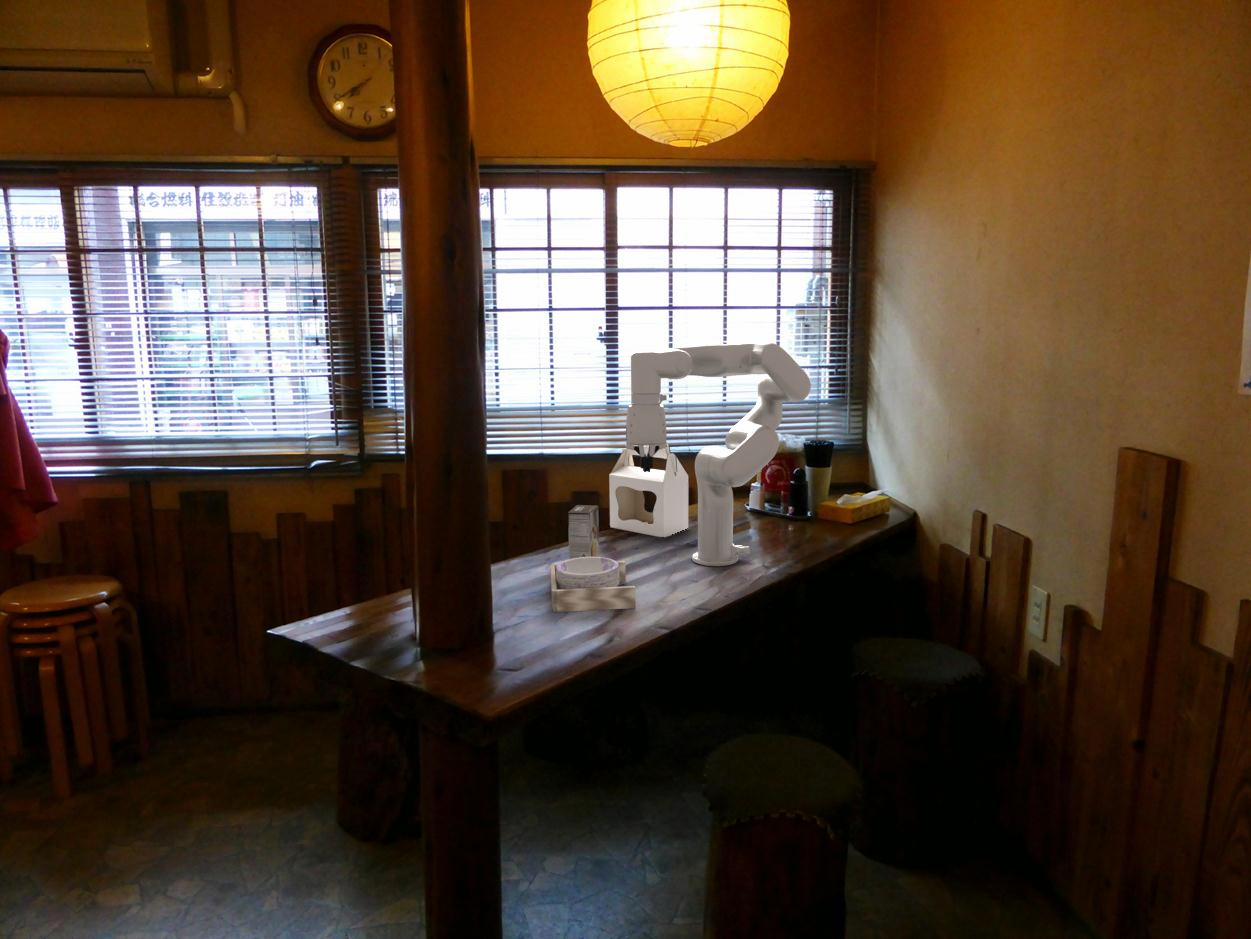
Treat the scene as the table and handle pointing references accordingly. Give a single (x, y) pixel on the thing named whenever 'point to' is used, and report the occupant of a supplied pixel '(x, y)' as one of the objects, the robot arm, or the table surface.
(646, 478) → the gable box
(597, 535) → the coffee box
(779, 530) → the table surface
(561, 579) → the paper bowls
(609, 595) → the box
